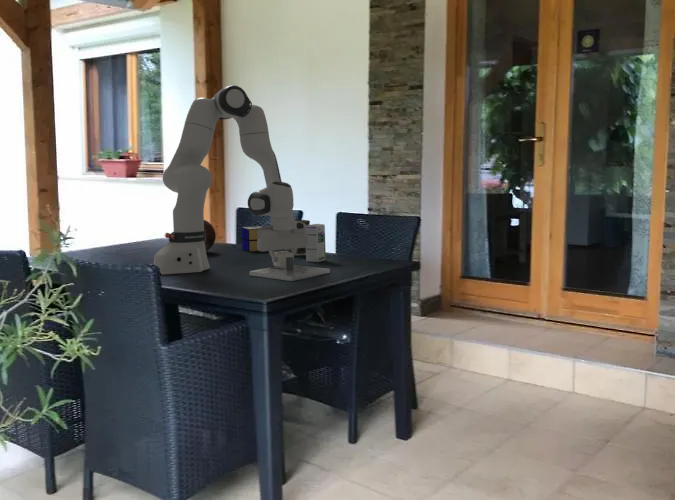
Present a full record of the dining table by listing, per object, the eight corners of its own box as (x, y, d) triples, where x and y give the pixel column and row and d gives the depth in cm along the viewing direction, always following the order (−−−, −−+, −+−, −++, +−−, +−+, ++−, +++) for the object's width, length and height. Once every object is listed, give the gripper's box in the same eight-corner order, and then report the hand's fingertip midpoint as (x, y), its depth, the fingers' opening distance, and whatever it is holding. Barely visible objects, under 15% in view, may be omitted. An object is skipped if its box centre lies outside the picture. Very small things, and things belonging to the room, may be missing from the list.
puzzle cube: (242, 249, 316) (241, 227, 315) (263, 247, 320) (262, 226, 319) (248, 252, 307) (248, 229, 306) (270, 250, 311) (270, 228, 310)
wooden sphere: (204, 249, 315) (203, 216, 313) (222, 253, 304) (221, 218, 302) (174, 253, 306) (173, 218, 304) (192, 256, 294) (190, 221, 292)
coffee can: (302, 256, 292) (302, 222, 290) (281, 254, 297) (280, 221, 295) (314, 252, 301) (314, 220, 299) (294, 251, 306) (293, 219, 304)
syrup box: (318, 262, 274) (317, 225, 272) (305, 261, 277) (304, 224, 275) (326, 260, 279) (325, 224, 277) (313, 259, 282) (312, 223, 280)
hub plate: (291, 281, 234) (291, 263, 233) (249, 275, 246) (249, 258, 245) (329, 272, 249) (329, 256, 248) (288, 267, 261) (287, 251, 261)
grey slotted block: (280, 267, 263) (279, 254, 263) (273, 265, 268) (272, 252, 268) (293, 265, 266) (293, 252, 266) (286, 263, 271) (286, 251, 271)
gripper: (260, 227, 257) (261, 264, 259) (309, 224, 268) (310, 259, 270) (253, 226, 263) (254, 262, 264) (301, 222, 273) (302, 257, 275)
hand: (283, 261), depth 267 cm, fingers closed on grey slotted block, 6 cm apart
